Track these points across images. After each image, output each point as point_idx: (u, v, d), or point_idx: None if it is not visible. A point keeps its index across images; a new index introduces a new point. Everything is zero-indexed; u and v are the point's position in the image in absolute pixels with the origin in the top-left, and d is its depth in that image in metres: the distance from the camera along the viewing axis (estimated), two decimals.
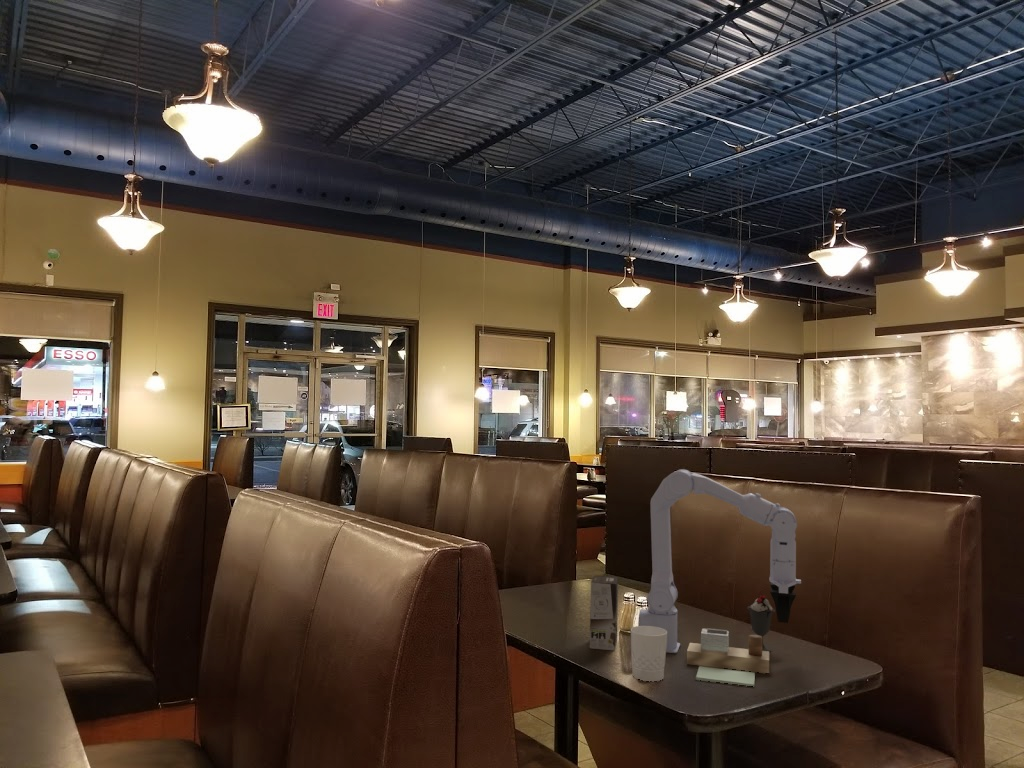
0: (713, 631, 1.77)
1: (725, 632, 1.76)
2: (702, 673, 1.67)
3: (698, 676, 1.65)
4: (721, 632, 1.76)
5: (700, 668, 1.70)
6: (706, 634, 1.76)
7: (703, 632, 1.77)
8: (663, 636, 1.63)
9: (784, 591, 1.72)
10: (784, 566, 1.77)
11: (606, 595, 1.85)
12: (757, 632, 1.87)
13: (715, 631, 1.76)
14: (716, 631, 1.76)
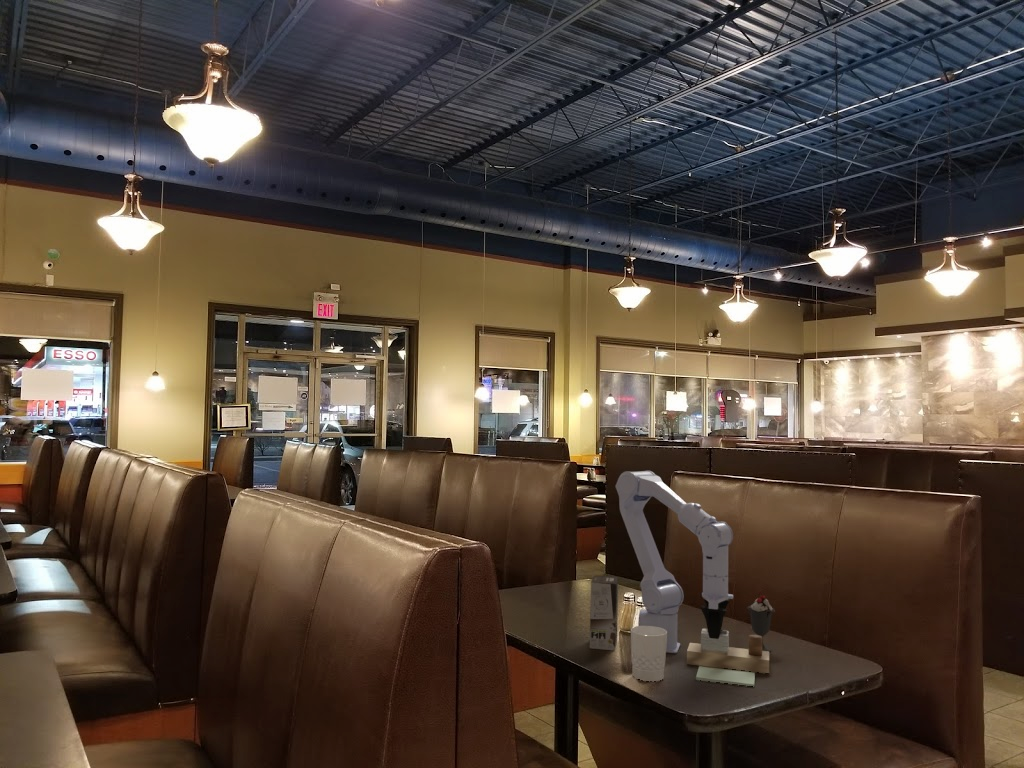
0: None
1: (725, 632, 1.76)
2: (702, 673, 1.67)
3: (698, 676, 1.65)
4: (721, 632, 1.76)
5: (700, 668, 1.70)
6: (706, 634, 1.76)
7: (703, 632, 1.77)
8: (663, 636, 1.63)
9: (714, 607, 1.70)
10: (715, 581, 1.75)
11: (606, 595, 1.85)
12: (757, 632, 1.87)
13: None
14: None
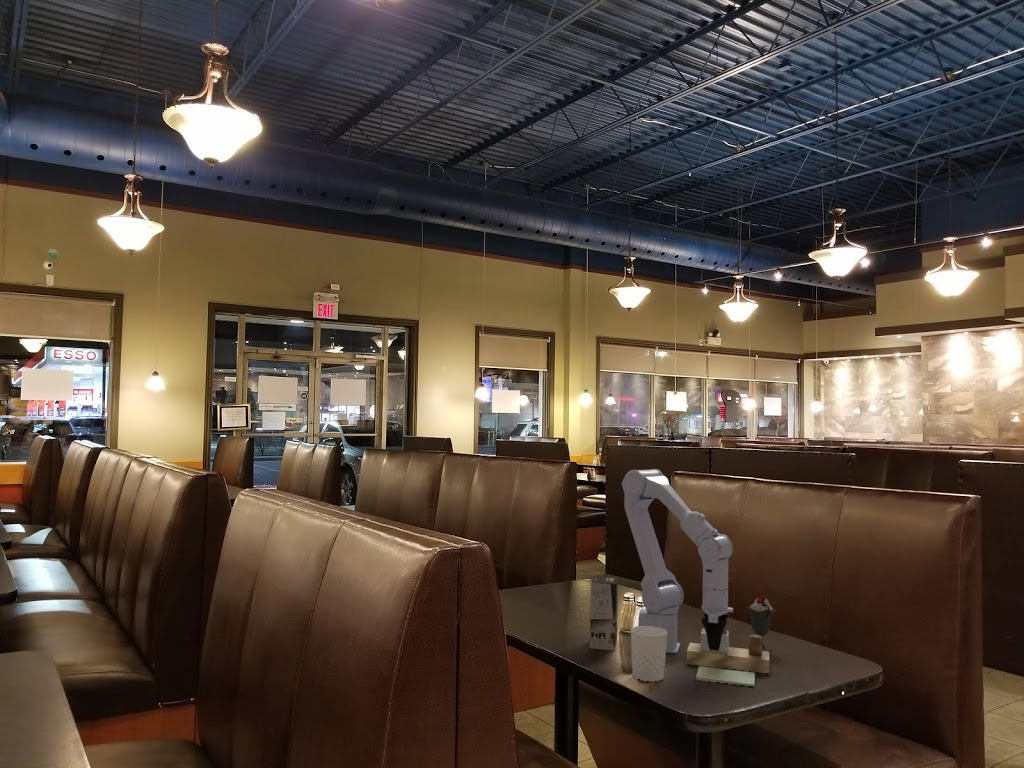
0: None
1: (725, 632, 1.76)
2: (702, 673, 1.67)
3: (698, 676, 1.65)
4: None
5: (700, 668, 1.70)
6: None
7: (703, 632, 1.77)
8: (663, 636, 1.63)
9: (714, 620, 1.70)
10: (715, 594, 1.75)
11: (606, 595, 1.85)
12: (757, 632, 1.87)
13: None
14: None
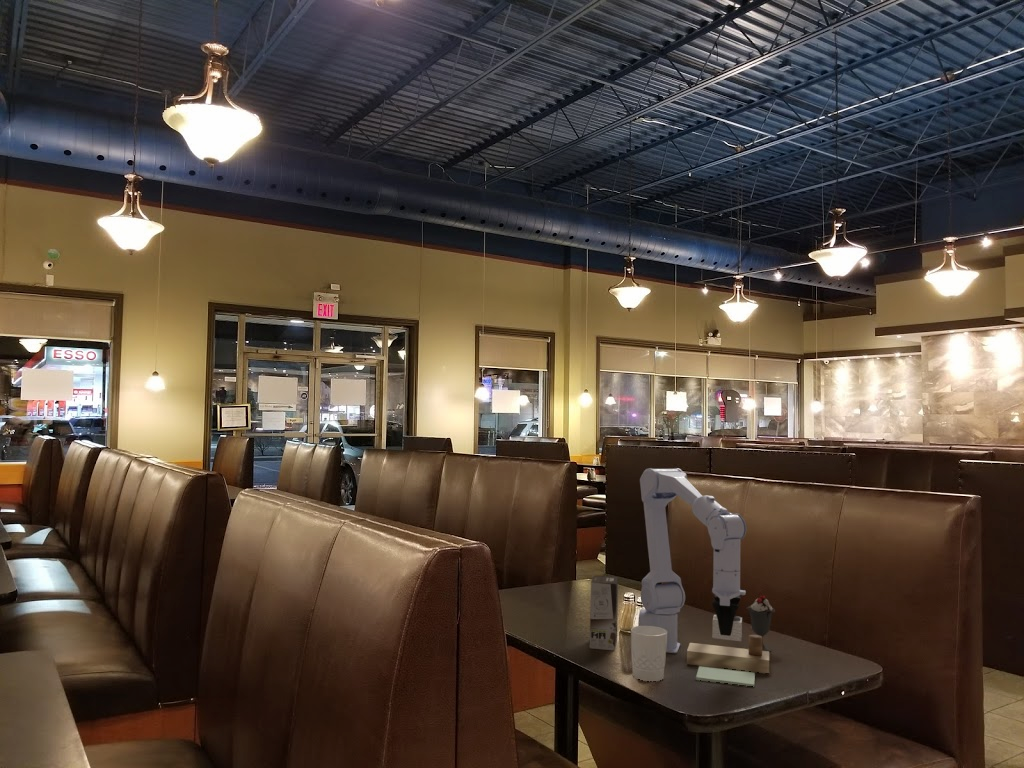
0: None
1: (738, 618, 1.66)
2: (702, 673, 1.67)
3: (698, 676, 1.65)
4: (734, 618, 1.66)
5: (700, 668, 1.70)
6: None
7: (715, 618, 1.66)
8: (663, 636, 1.63)
9: (725, 603, 1.60)
10: (727, 576, 1.65)
11: (606, 595, 1.85)
12: (757, 632, 1.87)
13: None
14: None
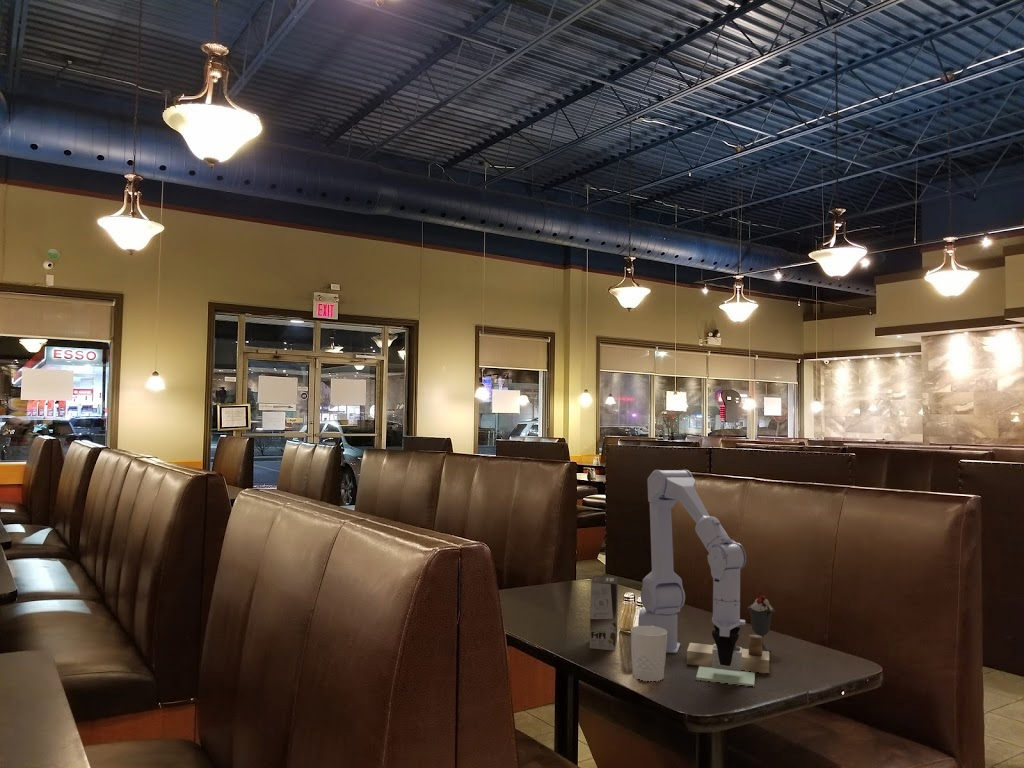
0: None
1: (738, 648, 1.65)
2: (702, 673, 1.67)
3: (698, 676, 1.65)
4: (734, 648, 1.65)
5: (700, 668, 1.70)
6: None
7: (715, 648, 1.66)
8: (663, 636, 1.63)
9: (725, 634, 1.60)
10: (727, 606, 1.64)
11: (606, 595, 1.85)
12: (757, 632, 1.87)
13: None
14: None
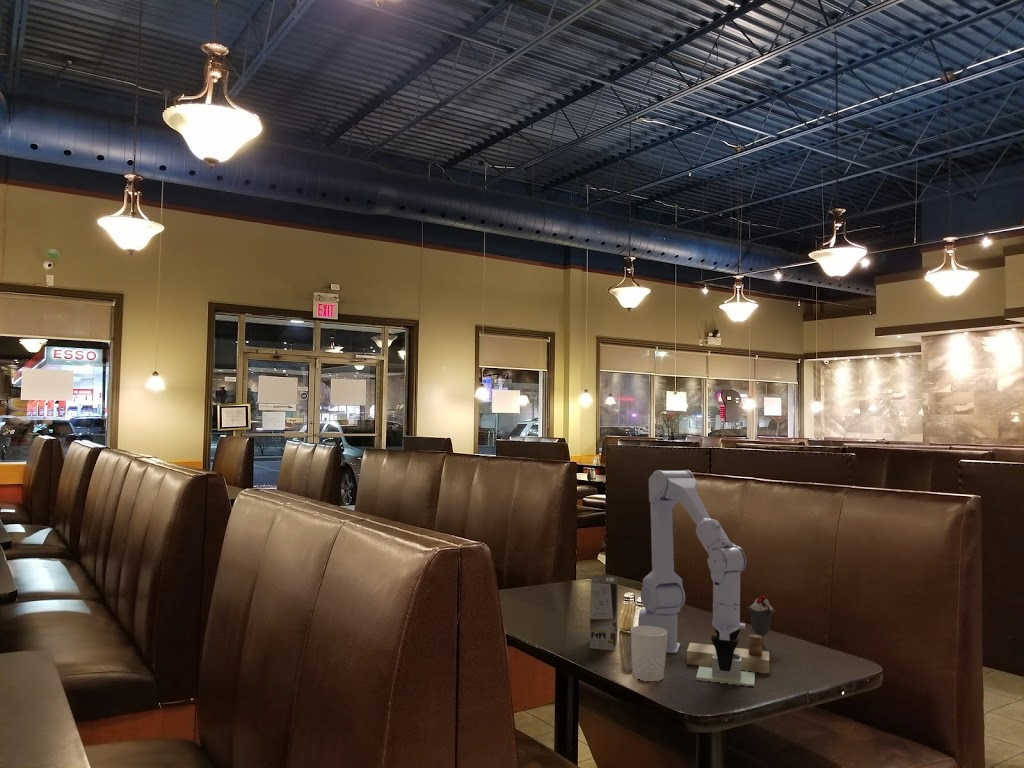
0: None
1: (738, 657, 1.65)
2: (702, 673, 1.67)
3: (698, 676, 1.65)
4: (733, 657, 1.65)
5: (700, 668, 1.70)
6: None
7: (714, 657, 1.66)
8: (663, 636, 1.63)
9: (725, 638, 1.60)
10: (727, 610, 1.64)
11: (606, 595, 1.85)
12: (757, 632, 1.87)
13: None
14: None
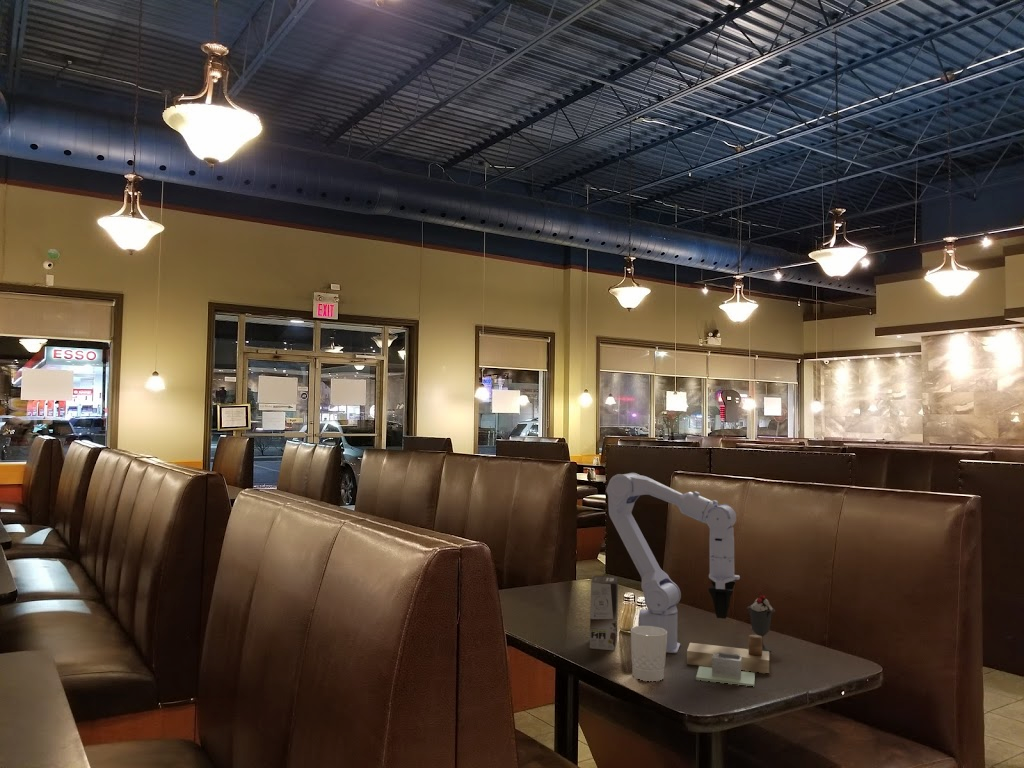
0: (725, 655, 1.66)
1: (738, 657, 1.65)
2: (702, 673, 1.67)
3: (698, 676, 1.65)
4: (733, 657, 1.65)
5: (700, 668, 1.70)
6: (718, 659, 1.65)
7: (714, 657, 1.66)
8: (663, 636, 1.63)
9: (721, 587, 1.74)
10: (722, 562, 1.78)
11: (606, 595, 1.85)
12: (757, 632, 1.87)
13: (727, 655, 1.66)
14: (728, 655, 1.66)
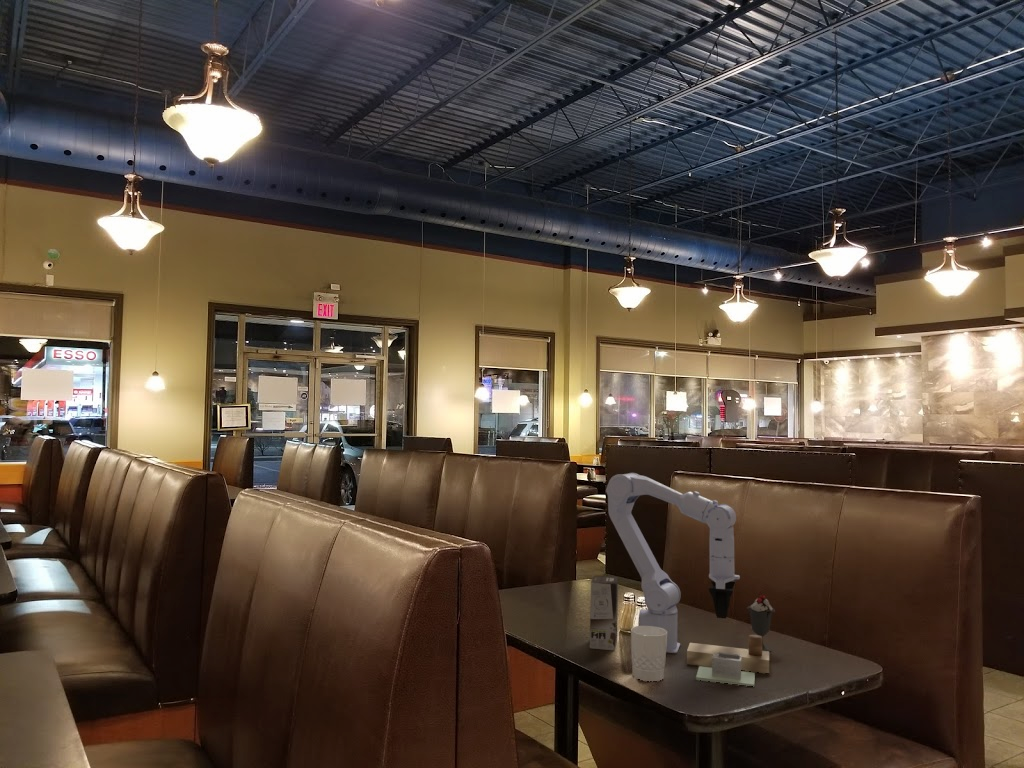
0: (725, 655, 1.66)
1: (738, 657, 1.65)
2: (702, 673, 1.67)
3: (698, 676, 1.65)
4: (733, 657, 1.65)
5: (700, 668, 1.70)
6: (718, 659, 1.65)
7: (714, 657, 1.66)
8: (663, 636, 1.63)
9: (721, 587, 1.74)
10: (722, 562, 1.78)
11: (606, 595, 1.85)
12: (757, 632, 1.87)
13: (727, 655, 1.66)
14: (728, 655, 1.66)
